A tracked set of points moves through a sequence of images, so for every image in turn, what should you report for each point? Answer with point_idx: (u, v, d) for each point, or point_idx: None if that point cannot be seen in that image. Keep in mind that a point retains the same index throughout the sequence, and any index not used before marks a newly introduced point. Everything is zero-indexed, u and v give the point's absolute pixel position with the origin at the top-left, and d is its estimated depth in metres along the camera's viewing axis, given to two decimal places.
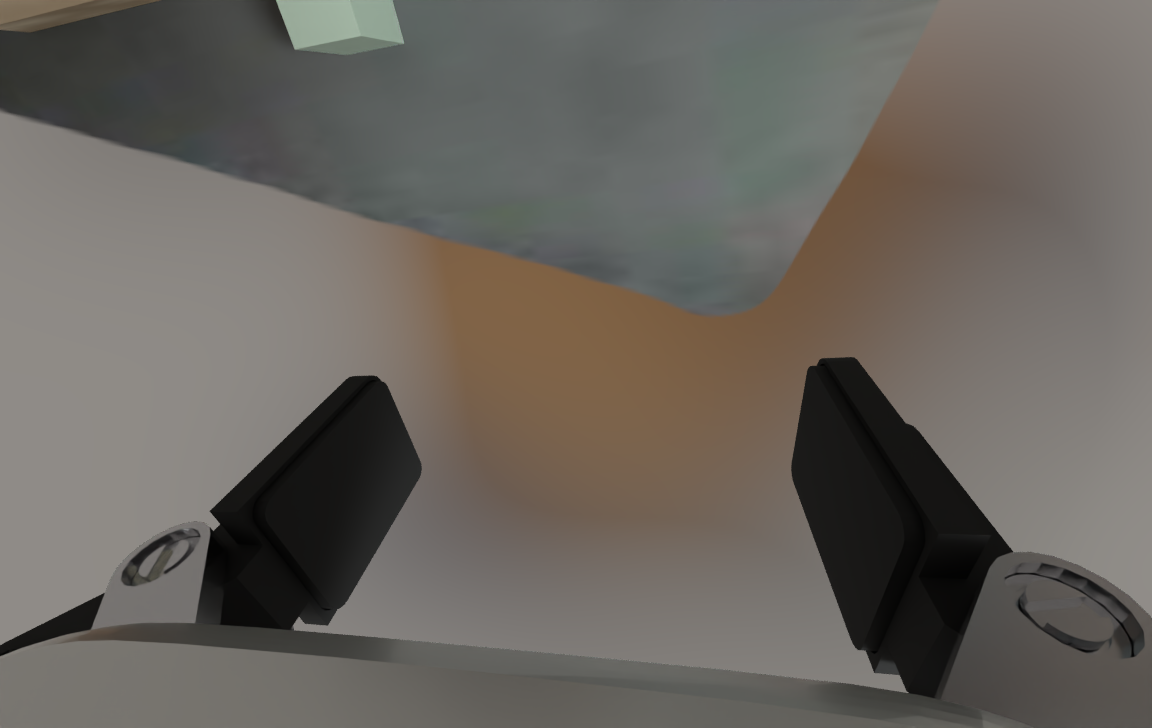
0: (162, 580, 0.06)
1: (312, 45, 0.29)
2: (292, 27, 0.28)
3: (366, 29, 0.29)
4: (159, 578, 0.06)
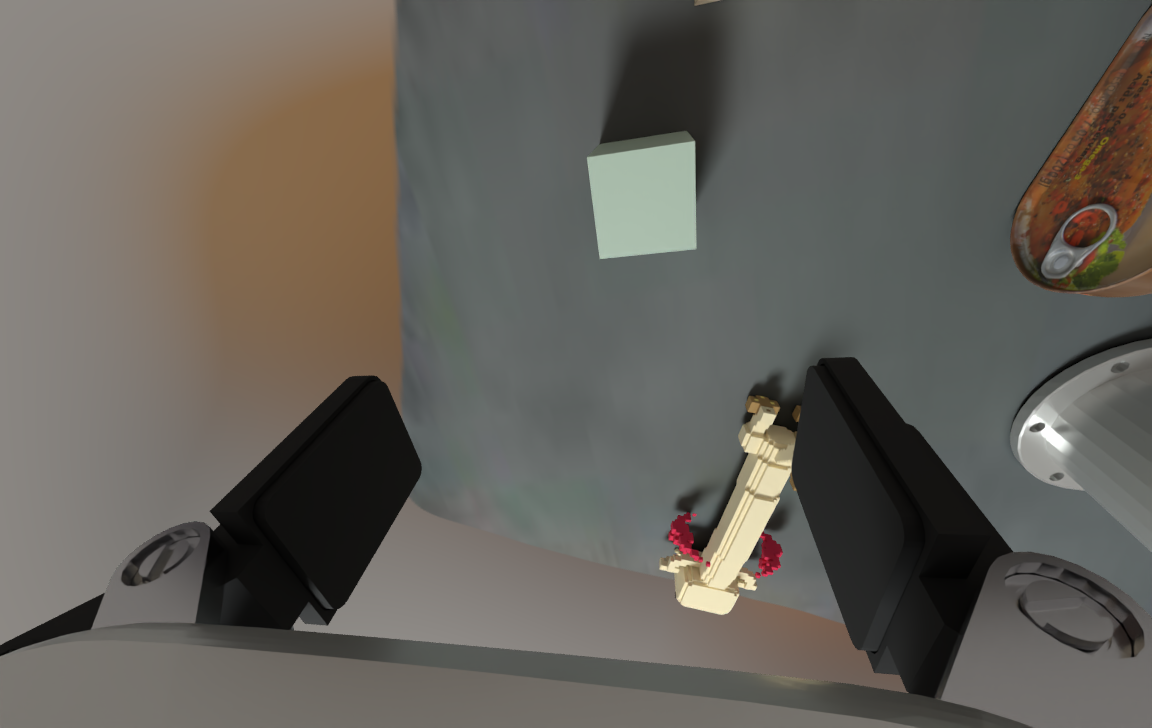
0: (162, 580, 0.06)
1: (591, 186, 0.21)
2: (611, 164, 0.21)
3: None
4: (159, 578, 0.06)
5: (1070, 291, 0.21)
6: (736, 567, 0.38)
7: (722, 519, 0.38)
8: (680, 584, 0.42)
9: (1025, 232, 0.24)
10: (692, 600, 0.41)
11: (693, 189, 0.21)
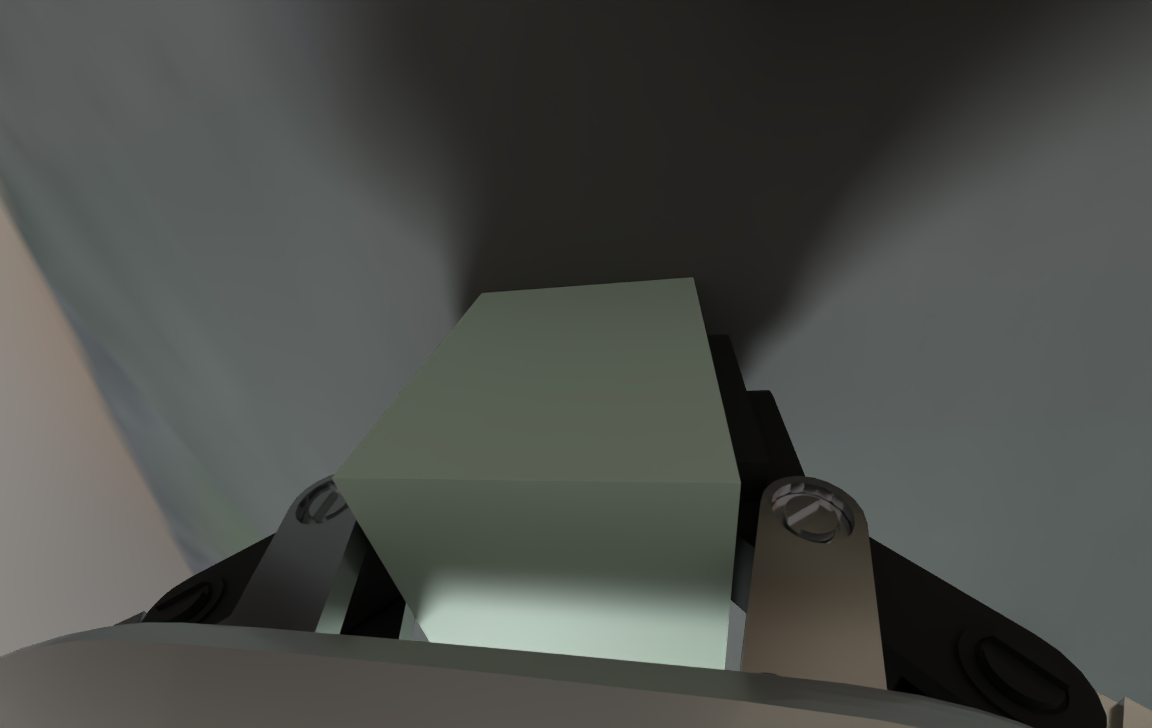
0: (321, 526, 0.06)
1: (374, 540, 0.06)
2: (422, 504, 0.06)
3: None
4: (320, 523, 0.07)
5: None
6: None
7: None
8: None
9: None
10: None
11: (723, 595, 0.06)
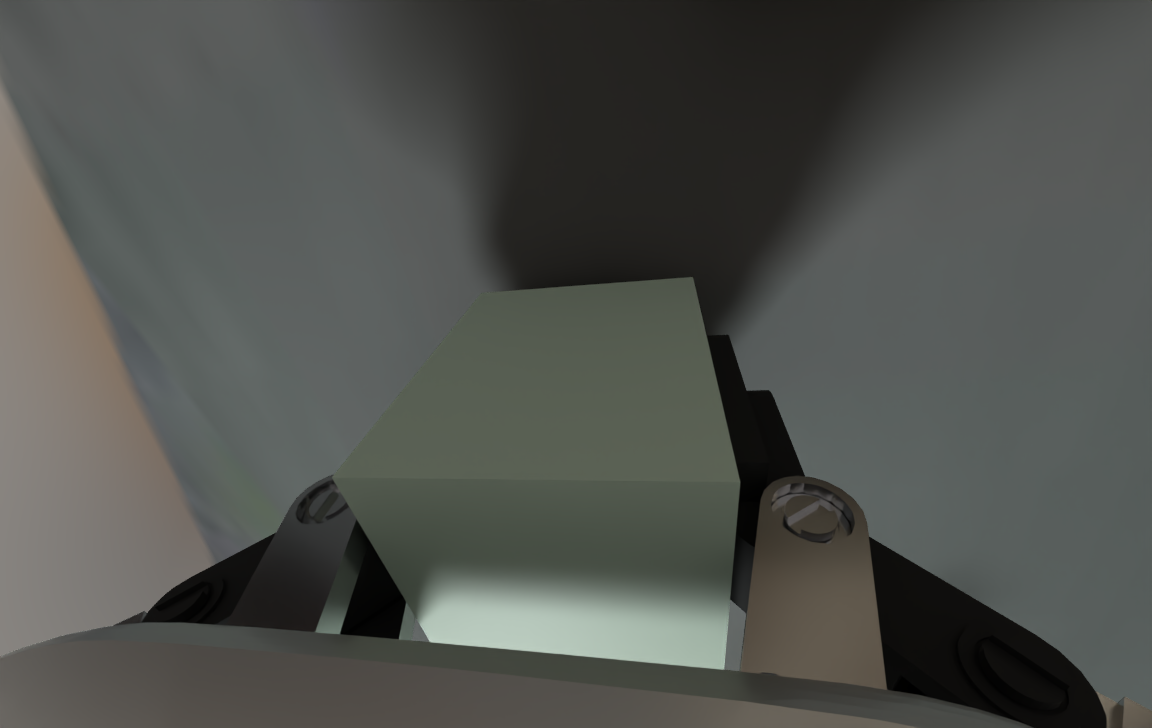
0: (321, 526, 0.06)
1: (375, 539, 0.06)
2: (423, 503, 0.06)
3: None
4: (320, 523, 0.07)
5: None
6: None
7: None
8: None
9: None
10: None
11: (723, 594, 0.06)
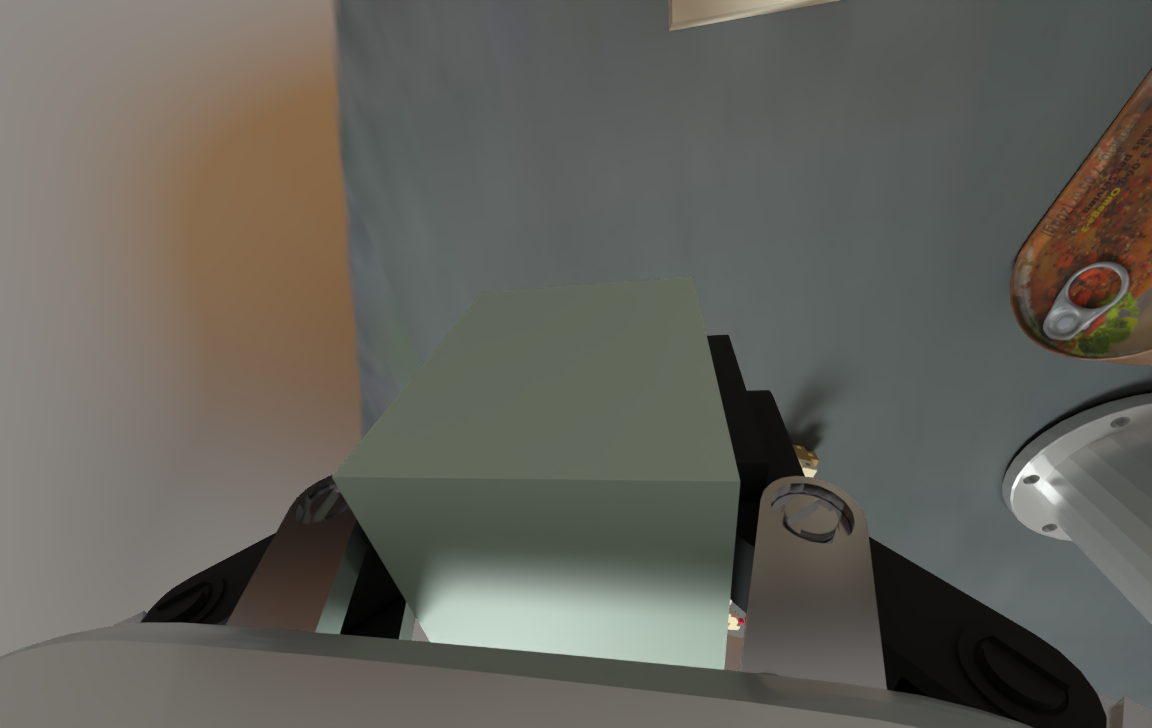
0: (322, 526, 0.06)
1: (374, 538, 0.06)
2: (422, 503, 0.06)
3: None
4: (320, 523, 0.07)
5: (1076, 356, 0.19)
6: None
7: None
8: None
9: (1026, 283, 0.22)
10: None
11: (722, 593, 0.06)
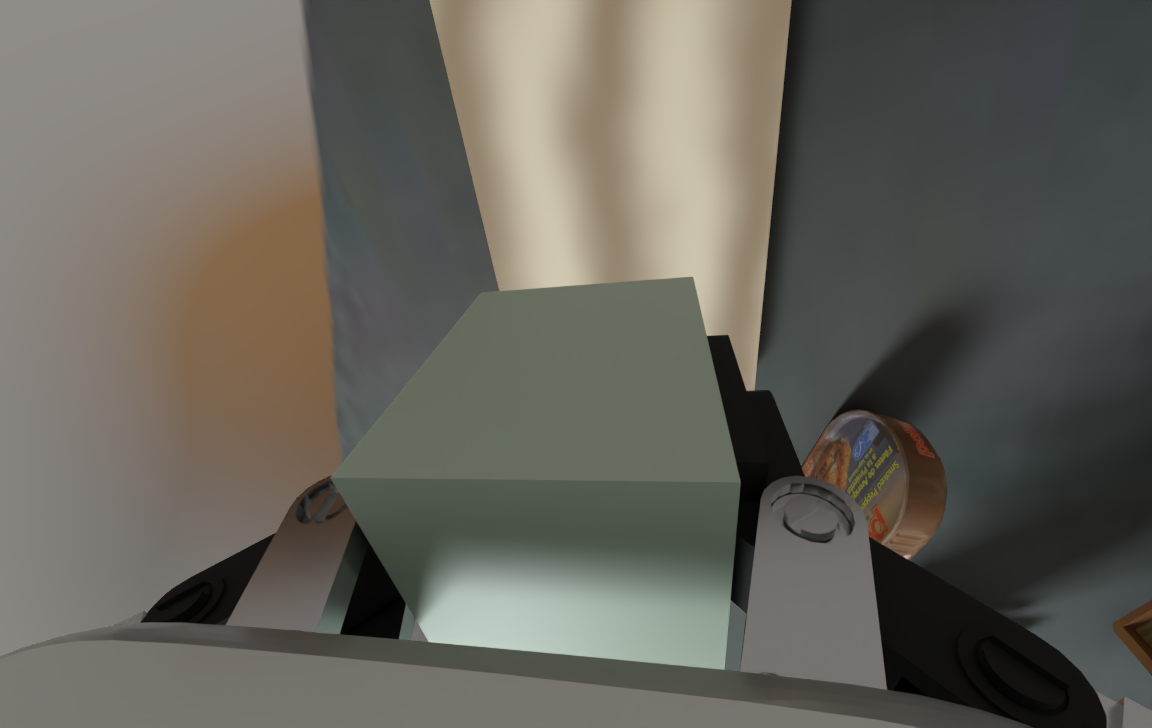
0: (321, 526, 0.06)
1: (373, 539, 0.06)
2: (421, 504, 0.06)
3: None
4: (320, 523, 0.07)
5: None
6: None
7: None
8: None
9: None
10: None
11: (723, 594, 0.06)
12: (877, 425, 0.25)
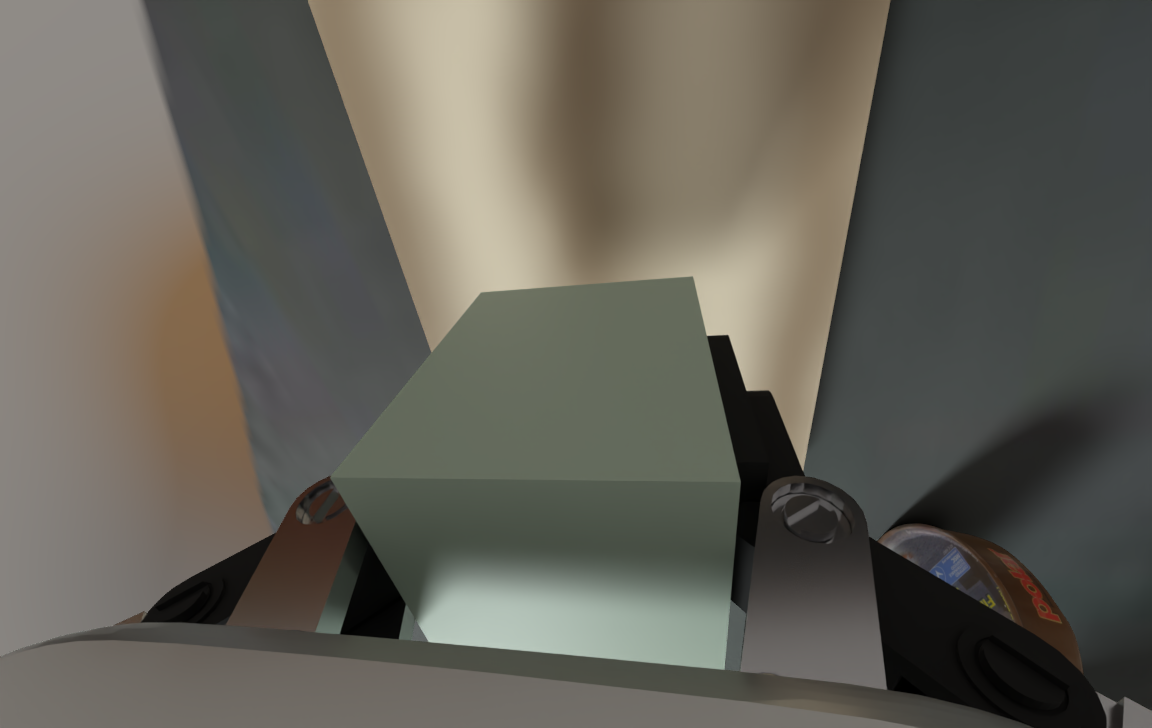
0: (321, 526, 0.06)
1: (373, 539, 0.06)
2: (421, 503, 0.06)
3: None
4: (320, 523, 0.07)
5: None
6: None
7: None
8: None
9: None
10: None
11: (723, 594, 0.06)
12: (966, 558, 0.18)
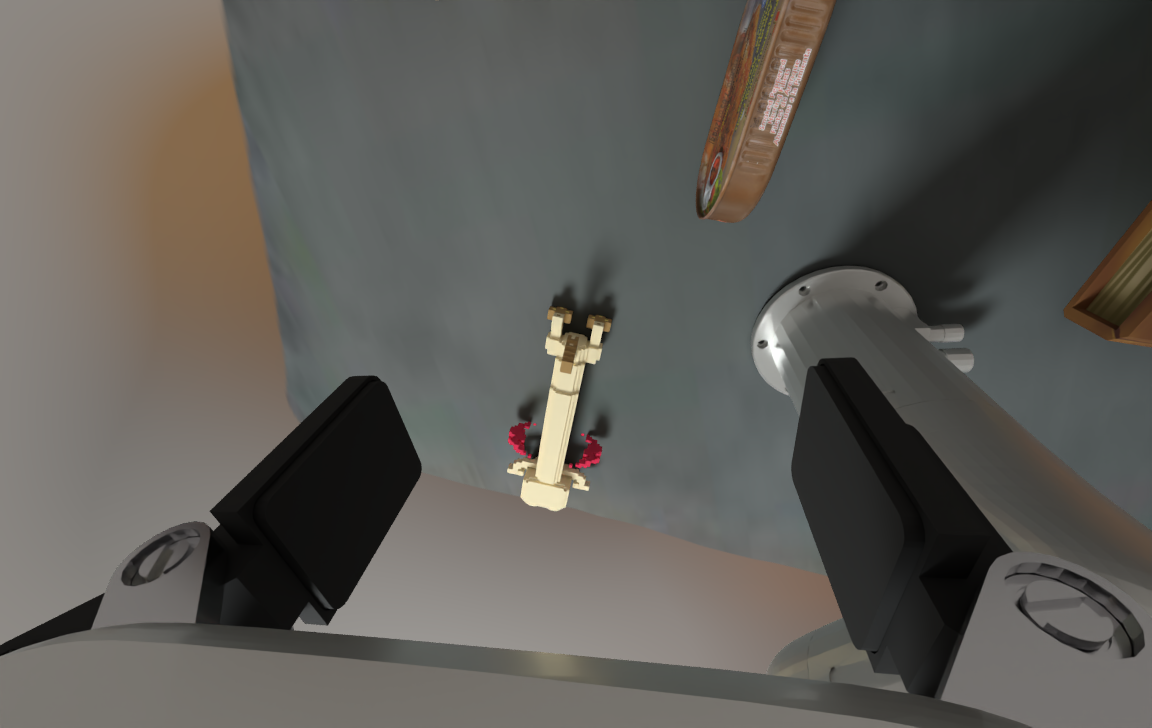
0: (162, 580, 0.06)
1: None
2: None
3: None
4: (159, 578, 0.06)
5: (704, 217, 0.29)
6: (556, 461, 0.44)
7: None
8: None
9: (703, 179, 0.31)
10: (531, 497, 0.48)
11: None
12: None
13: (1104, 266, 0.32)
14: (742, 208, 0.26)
